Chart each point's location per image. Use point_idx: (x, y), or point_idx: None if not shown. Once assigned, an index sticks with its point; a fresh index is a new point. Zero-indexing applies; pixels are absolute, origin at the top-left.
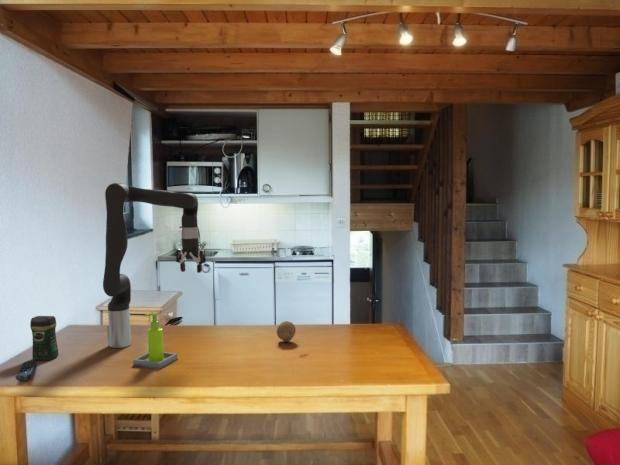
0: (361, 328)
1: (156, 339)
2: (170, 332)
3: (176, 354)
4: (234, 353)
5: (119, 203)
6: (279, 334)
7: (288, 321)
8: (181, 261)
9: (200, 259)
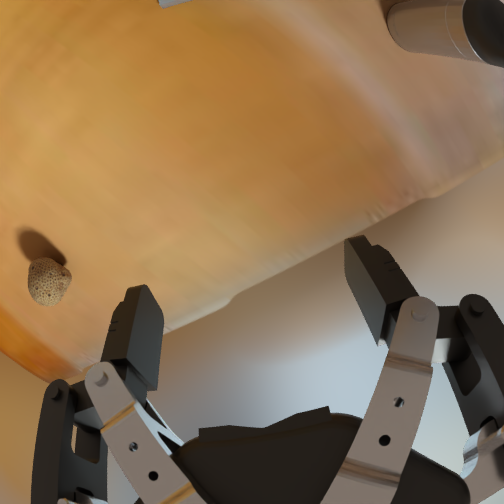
0: (54, 362)
1: None
2: (370, 165)
3: (159, 2)
4: (69, 139)
5: None
6: (40, 260)
7: (43, 304)
8: (414, 331)
9: (59, 428)
